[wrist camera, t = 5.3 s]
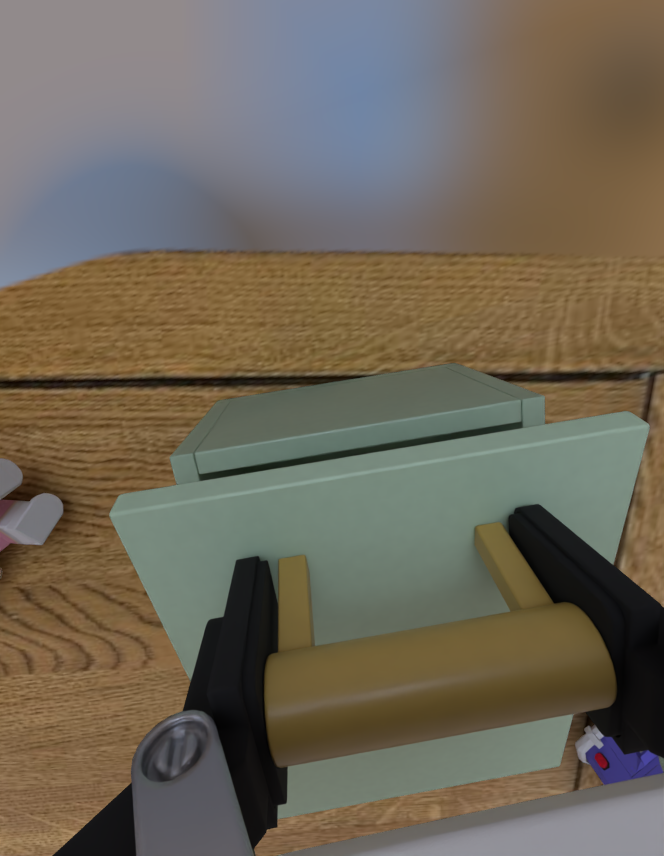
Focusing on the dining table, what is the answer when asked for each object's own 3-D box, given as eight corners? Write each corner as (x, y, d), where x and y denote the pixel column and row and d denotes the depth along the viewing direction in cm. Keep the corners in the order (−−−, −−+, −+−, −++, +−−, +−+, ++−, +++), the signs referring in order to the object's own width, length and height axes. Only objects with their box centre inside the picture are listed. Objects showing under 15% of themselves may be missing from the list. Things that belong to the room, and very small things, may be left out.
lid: (118, 492, 10) (-1, 718, 6) (628, 408, 11) (869, 564, 6) (260, 799, 19) (253, 993, 14) (550, 745, 19) (633, 917, 14)
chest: (217, 400, 23) (168, 456, 14) (455, 362, 23) (545, 395, 15) (272, 645, 27) (260, 799, 19) (472, 609, 27) (549, 746, 19)
